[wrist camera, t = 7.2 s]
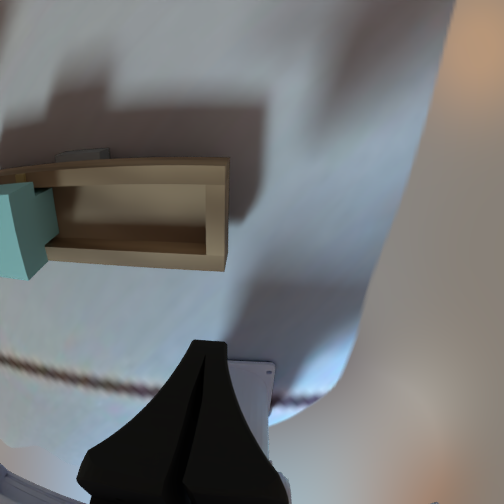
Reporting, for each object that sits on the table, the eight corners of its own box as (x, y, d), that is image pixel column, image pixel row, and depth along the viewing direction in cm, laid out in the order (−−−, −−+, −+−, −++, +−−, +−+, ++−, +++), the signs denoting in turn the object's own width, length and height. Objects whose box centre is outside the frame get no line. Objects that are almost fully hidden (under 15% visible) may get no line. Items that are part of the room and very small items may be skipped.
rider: (64, 246, 19) (28, 280, 15) (20, 244, 19) (-16, 274, 15) (52, 172, 17) (8, 194, 13) (8, 176, 17) (-36, 198, 13)
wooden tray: (229, 248, 22) (223, 281, 18) (7, 238, 22) (-21, 261, 18) (232, 145, 19) (225, 156, 15) (-7, 161, 19) (-41, 175, 15)
